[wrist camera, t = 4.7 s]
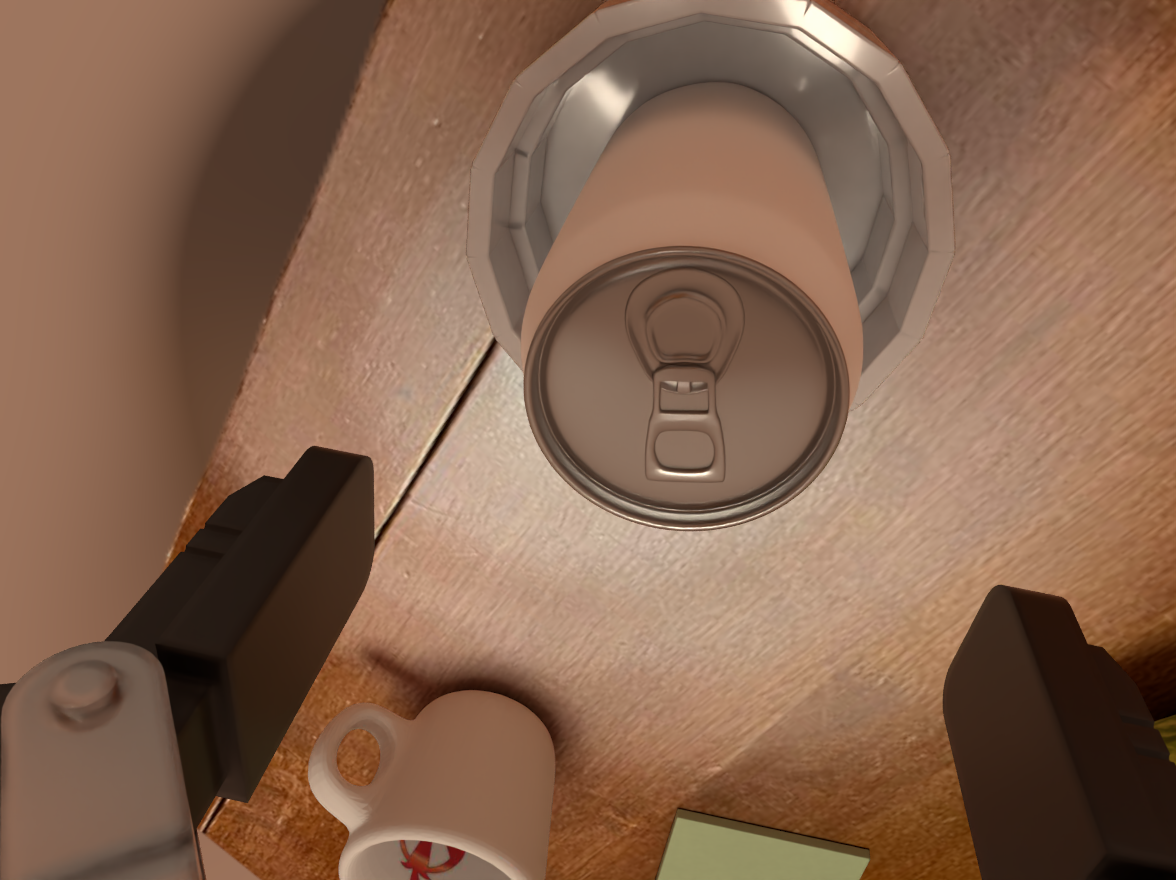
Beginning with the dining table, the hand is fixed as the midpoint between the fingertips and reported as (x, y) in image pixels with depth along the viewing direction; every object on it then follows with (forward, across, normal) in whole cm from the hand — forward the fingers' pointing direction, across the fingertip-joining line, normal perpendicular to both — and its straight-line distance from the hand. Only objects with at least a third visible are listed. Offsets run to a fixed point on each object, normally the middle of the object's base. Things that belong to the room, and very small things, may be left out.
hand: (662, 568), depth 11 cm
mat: (+17, -9, +33) cm, 38 cm away
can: (+17, 0, 0) cm, 17 cm away
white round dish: (+17, 0, 0) cm, 17 cm away
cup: (+17, +6, +25) cm, 31 cm away
